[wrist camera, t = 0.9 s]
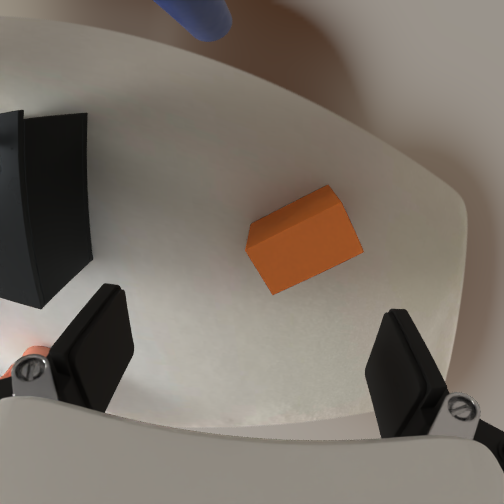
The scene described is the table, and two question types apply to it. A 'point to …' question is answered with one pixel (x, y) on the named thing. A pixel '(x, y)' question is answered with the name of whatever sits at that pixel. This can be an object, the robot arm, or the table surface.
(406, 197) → the table surface
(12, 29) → the table surface
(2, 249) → the bin lid
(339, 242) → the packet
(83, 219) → the bin
